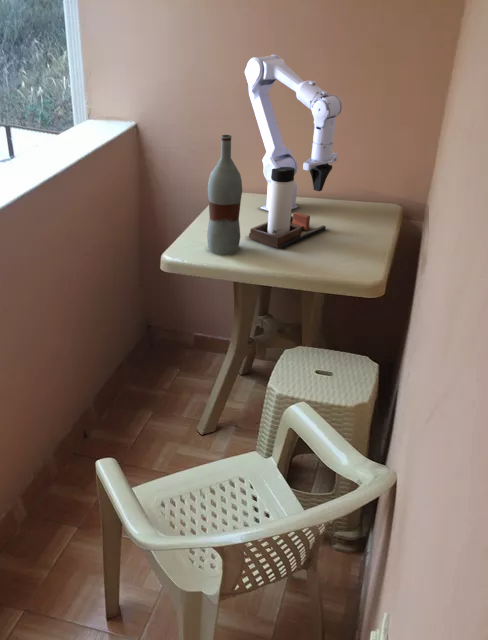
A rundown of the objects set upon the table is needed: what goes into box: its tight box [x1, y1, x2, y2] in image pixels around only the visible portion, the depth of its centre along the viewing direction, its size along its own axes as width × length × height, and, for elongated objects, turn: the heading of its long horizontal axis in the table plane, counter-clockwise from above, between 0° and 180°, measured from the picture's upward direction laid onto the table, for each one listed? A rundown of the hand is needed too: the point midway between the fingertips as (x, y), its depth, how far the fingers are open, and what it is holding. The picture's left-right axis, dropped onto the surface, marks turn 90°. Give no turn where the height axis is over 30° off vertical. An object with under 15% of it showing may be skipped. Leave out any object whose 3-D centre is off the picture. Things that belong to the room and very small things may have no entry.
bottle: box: [206, 134, 243, 256], centre depth 173 cm, size 9×9×30 cm
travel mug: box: [267, 167, 295, 236], centre depth 183 cm, size 6×7×20 cm
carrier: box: [249, 211, 311, 249], centre depth 189 cm, size 18×10×4 cm, turn 136°
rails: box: [248, 215, 327, 249], centre depth 191 cm, size 20×13×1 cm, turn 136°
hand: (317, 190), depth 194 cm, fingers closed
